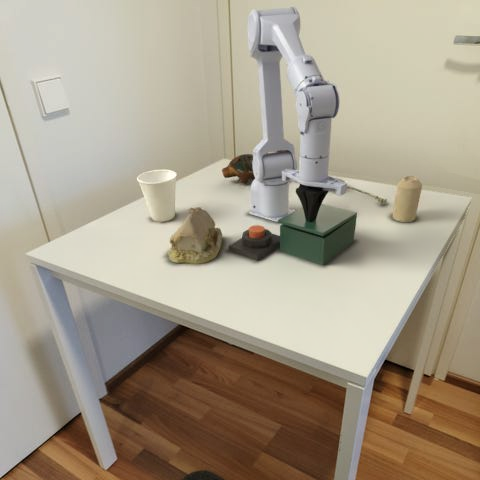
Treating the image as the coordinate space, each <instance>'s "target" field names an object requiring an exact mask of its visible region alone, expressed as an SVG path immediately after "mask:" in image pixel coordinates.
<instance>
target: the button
mask: <svg viewBox="0 0 480 480" xmlns="http://www.w3.org/2000/svg"><path fill="white" fill-rule="evenodd" d="M248 229H249V237H250V238H254V239H259V238H263V237H265V229H266V228H265V227H264V226H263V225H259V224H257V225H256V224H255V225H251V226H249V228H248Z"/></svg>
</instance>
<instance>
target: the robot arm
mask: <svg viewBox="0 0 480 480" xmlns="http://www.w3.org/2000/svg"><path fill="white" fill-rule="evenodd" d="M246 29H247V43H248V51H249V55H250V57H251V58H253V59H255V60H256V65H257V72H258V84H259V85H258V86H259V98H260V111H261V124H262V126H261V127H262V137H263V138H262V139H261V141H259V143H257V144H256V145H255V147H254V148H253V150H252V155H253V163H252V166H253V173H254V176H255V179H254V180H253V179H252V182H251V185H250V190H249V191H250V192H249V193H250V211H249V212H248V215H251V216H254V217H255V216H256V217H258V218H262V219H266V220H269V221H272V222H275V223H278V220H279V219H281V218H283V217H285V216H287V215H289V214H291V213H293V212H295V211H296V209H294V208H289V207H290V205H289V204H290V203H289V202H290V201H289V199H290V182H292V183H296V184H299V185H298V187H296V188H295V194H296V195H297V197H298V199H299V201H300V203H301V206H302V207H301V208H303V210H304V214H305V219H306V221H308V222H312V221H314V220H316V218H317V215H318V211H319V209H320V206H321V204H323V202H324V199H325V198H326V196H327V194H328V193H329V192H330V193H333V194H336V196H339V197H341V196H343V195H345V194H346V193H347V189H348V188H347V186H348V183H347V182H345V183H344V182H341V181H339V180H337V179H335V178H336V177H334V176H330V175H329V167H330V153H331V152H330V151H331V137H332V125H333V119H334V118H336V117H337V115H338V113H339V109H340V93H339V90H338V88H337V85H336V84H335V83H334V82H330V81H329V80H325V78H324V76H323V74H322V72H321V70H320V68H319V66H318V64H317V62H316V60H315V58H314V57H313V56H312V55H310V54H306V52H305V49H304V46H303V43H302V41H301V38H300V34H301V33H300V32H301V16H300V12H299V11H298V9H297V7H295V6H290V7H283V8H282V7H281V8H270V9H269V8H268V9H256V8H255V9H252V10H251V11H250V13H249V15H248V18H247V27H246ZM282 58H283V60H284V61H285V63H286V64H287V68H286V78H287V80H288V82H289V84H290V86H291V89H292V91H293V93H294V95H295V97H296V99H295V100H296V101H295V111H296V115H297V127H298V128H297V129H298V130H299V132H300V133H299V158H298V159H299V165H298V160H297V156H296V152H295V145H294V144H293V143H292V142H291V141H289V140H288V139H286V138H285V134H284V117H283V116H284V115H283V98H282V97H283V96H282V82H281V81H282V80H281V64H280V63H281V60H282ZM280 150H284V151H283V152H276V153H268V154H265V153H267V152H273V151H280Z"/></svg>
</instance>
